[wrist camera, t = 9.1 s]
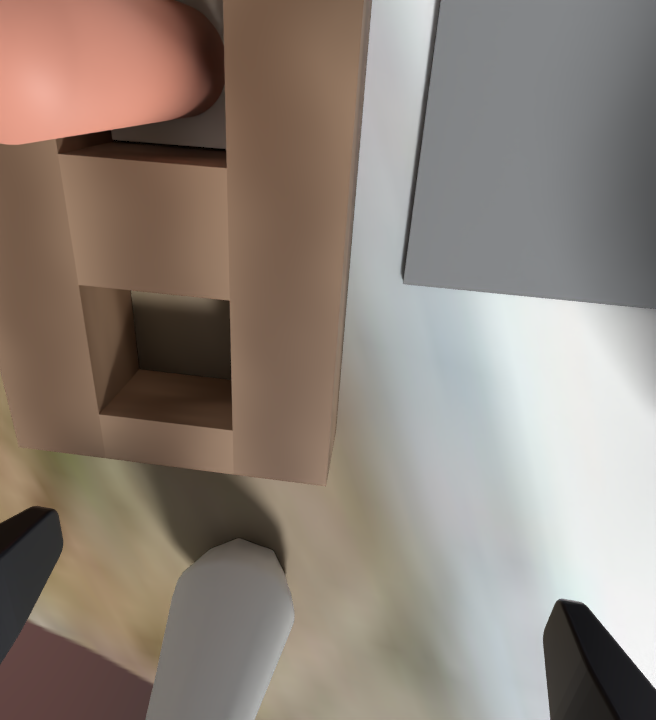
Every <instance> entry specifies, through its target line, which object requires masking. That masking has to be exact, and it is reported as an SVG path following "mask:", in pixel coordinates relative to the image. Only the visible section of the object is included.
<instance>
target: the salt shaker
mask: <svg viewBox="0 0 656 720" xmlns="http://www.w3.org/2000/svg"><path fill="white" fill-rule="evenodd" d="M293 623H294V607H293V602H292V597H291V592H290V589H289V587H288V583H287V579H286V576H285V574H284V572H283V569H282V567H281V565H280V563H279V561H278V559H277V557H276V555H275V553H274V551H273V550H271V549H268V548H265V547H262V546H260V545H257V544H254V543H251V542H249V541H246V540H243V539H240V538H237V539H235V540H232V541H230V542H227V543H224V544H222V545H219V546H216V547H214V548H211V549H209V550H208V551H207V552H206V553H205V554H204V555H202V556H201V557H200V558H199V559H198V560H197V561H195V562H194V563H193V564H192V565H191V566H190V567H189V568H187V569H186V570H185V571H184V572H183V573H182V575H181V576H180V578H179V579H178V582H177V585H176V588H175V591H174V594H173V597H172V601H171V606H170V610H169V615H168V620H167V625H166V629H165V634H164V639H163V644H162V649H161V653H160V658H159V663H158V668H157V672H156V677H155V681H154V686H153V690H152V694H151V698H150V703H149V707H148V712H147V716H146V720H255V717H256V715H257V712H258V710H259V707H260V705H261V702H262V700H263V697H264V695H265V692H266V690H267V687H268V685H269V683H270V680H271V678H272V675H273V673H274V670H275V668H276V665H277V663H278V660H279V658H280V655H281V653H282V650H283V648H284V645H285V643H286V640H287V638H288V635H289V633H290V630H291V628H292V626H293Z"/></svg>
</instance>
